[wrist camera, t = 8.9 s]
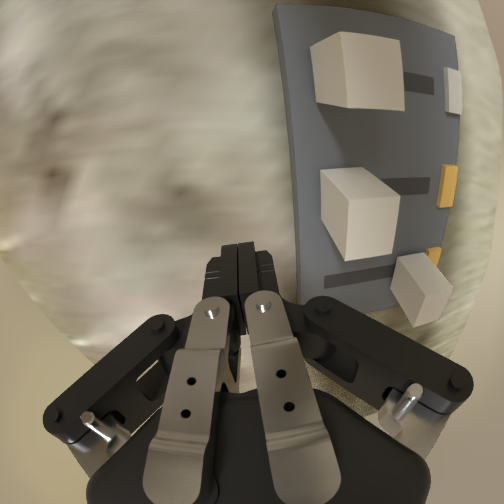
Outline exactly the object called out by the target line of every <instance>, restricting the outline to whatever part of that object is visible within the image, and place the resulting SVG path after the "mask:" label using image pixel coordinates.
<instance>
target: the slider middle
mask: <svg viewBox="0 0 504 504" xmlns="http://www.w3.org/2000/svg"><path fill="white" fill-rule="evenodd" d="M320 180H321V220H322V222H323V223H324V225H325V227H326V229H327V230H328V232H329V234H330V236H331V237H332V239H333V241H334V243H335V244H336V246H337V248H338V250H339V252H340V253H341V255H342V257H343V259H344V261H350V260H356V259H363V258H369V257H375V256H381V255H388V254H392V249H393V244H394V238H395V232H396V226H397V219H398V212H399V204H400V195H399V194H397V193H396V192H395V191H394V190H392V189H391V188H390V187H389V186H387V185H386V184H385V183H383V182H382V181H381V180H379V179H378V178H377V177H375V176H374V175H373V174H371V173H370V172H369V171H367V170H366V169H365V168H363V167H352V168H336V169H323V170H320Z"/></svg>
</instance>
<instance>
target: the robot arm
mask: <svg viewBox="0 0 504 504" xmlns="http://www.w3.org/2000/svg"><path fill="white" fill-rule="evenodd" d="M246 328H247V332H248V334H249V337H250V343H251V354H252V360H253V366H254V372H255V378H256V384H257V389H254V390H251V391H248V392H245V393H239V379H240V362H241V347H240V345H241V337H240V335H246ZM304 359H305V361H306V362H307V363H308V364H310V365H311V366H312V367H314V368H315V369H317V370H318V371H320V372H321V373H323V374H324V375H326V376H327V377H328V378H330V379H331V380H333V381H334V382H336V383H337V384H339V385H340V386H342V387H343V388H345V389H346V390H348V391H349V392H351V393H353V394H354V395H356V396H357V397H359V398H360V399H362V400H363V401H365V402H367V403H368V404H370V405H371V406H373V407H375V408H376V409H378V410H379V413H378V420H379V422H380V425H381V426H382V427H383V428H384V429H385V430H386V431H387V432H388V433H389V434H390V436H389V435H388V434H386V433H385V432H383V431H382V430H380V429H379V428H377V427H376V426H374V425H373V424H372V423H370V422H369V421H367V420H366V419H364V418H363V417H362V416H360V415H359V414H357V413H356V412H355V411H353V410H352V409H350V408H349V407H348V406H346V405H345V404H344V403H342V402H341V401H339V400H338V399H337V398H335V397H334V396H332V395H330V394H328V393H326V392H324V391H321V390H317V389H313V387H312V384H311V381H310V378H309V374H308V371H307V368H306V365H305V362H304ZM156 360H158V362H157V363H156V364H155V365H154V366H153V367H152V368H151V369H150V370H149V371H148V372H147V373H146V374H144V375H143V376H142V377H141V378H140V379H139V380H138V381H137V382H136V380H137V378H138V377H139V376H140V375H141V374H142V373H143V372H144V371H145V370H147V369H148V368H149V367H150V366H151V365H152V364H153V363H154V362H155V361H156ZM473 385H474V384H473V378H472V376H471V374H470V372H469V371H468V370H467V369H466V368H464V367H462V366H461V365H459V364H457V363H455V362H453V361H451V360H449V359H447V358H446V357H444V356H442V355H440V354H438V353H436V352H434V351H432V350H430V349H429V348H427V347H425V346H423V345H421V344H419V343H417V342H415V341H413V340H412V339H410V338H408V337H406V336H404V335H402V334H400V333H398V332H397V331H395V330H393V329H391V328H389V327H387V326H385V325H383V324H382V323H380V322H378V321H376V320H374V319H372V318H370V317H368V316H367V315H365V314H363V313H361V312H359V311H357V310H355V309H353V308H352V307H350V306H348V305H346V304H344V303H342V302H340V301H338V300H337V299H335V298H332V297H329V296H316V297H313V298H311V299H310V300H308V301H307V302H306V304H305V305H300V304H293V303H290V302H287V301H286V300H284V299H283V298H282V297H281V295H280V293H279V289H278V284H277V279H276V274H275V269H274V264H273V259H272V256H271V255H270V254H269V253H268V252H267V251H266V250H265V251H257V252H255V247H254V241H252V242H245V243H238V245H237V244H231V245H224V246H222V247H221V257H213V258H211V260H210V261H209V262H208V264H207V267H206V274H205V281H204V288H203V296H202V301H200V302H199V303H198V304H197V305H196V306H195V308H194V312H193V314H192V315H190V316H188V317H186V318H183V319H180V320H177V321H174V319H173V318H172V317H171V316H169V315H166V314H159V315H155V316H153V317H151V318H149V319H148V320H147V321H145V322H144V323H143V324H142V325H141V326H140V327H138V328H137V329H136V330H135V331H134V332H132V333H131V334H130V335H129V336H128V337H127V338H125V339H124V340H123V341H122V342H121V343H120V344H118V345H117V346H116V347H115V348H114V349H113V350H111V351H110V352H109V353H108V354H107V355H106V356H104V357H103V358H102V359H101V360H100V361H99V362H98V363H96V364H95V365H94V366H93V367H92V368H91V369H90V370H88V371H87V372H86V373H85V374H84V375H83V376H82V377H80V378H79V379H78V380H77V381H76V382H75V383H74V384H72V385H71V386H70V387H69V388H68V389H67V390H66V391H64V392H63V393H62V394H61V395H60V396H59V397H58V398H56V399H55V400H54V401H53V402H52V403H51V404H50V405H49V406H48V407H47V408H46V410H45V412H44V414H43V425H44V427H45V429H46V430H47V431H48V432H49V433H51V434H52V435H54V436H55V437H57V438H58V439H60V440H61V441H62V442H63V443H65V444H66V445H67V446H68V447H69V449H70V450H71V452H72V454H73V455H74V457H75V458H76V459H77V461H78V463H79V464H80V465H81V467H82V468H83V470H84V471H85V472H86V474H87V475H88V476H89V478H90V480H89V482H88V484H87V489H86V499H87V504H425V502H426V499H427V496H428V493H429V489H430V484H431V475H430V470H429V468H428V466H427V463H426V462H425V459H426V457H427V456H428V454H429V453H430V451H431V449H432V448H433V446H434V444H435V443H436V441H437V439H438V437H439V436H440V434H441V432H442V430H443V428H444V426H445V424H446V422H447V420H448V419H449V417H450V415H451V414H452V413H453V412H454V411H455V410H456V409H457V408H458V407H459V406H460V405H461V404H462V403H464V402H465V400H466V399H467V398H468V397H469V396H470V395H471V393H472V391H473ZM162 404H163V406H162V407H161V408H160V409H158V408H159V407H160V406H161V405H162ZM157 409H158V410H157ZM156 410H157V411H156ZM155 411H156V412H155ZM154 412H155V413H154ZM153 413H154V414H153ZM152 414H153V415H152ZM151 415H152V416H151ZM150 416H151V417H150ZM149 417H150V418H149ZM148 418H149V419H148ZM146 419H148V420H147V422H145V423H144V425H142V427H140V429H138V431H137V432H136V433H135V434H134V435H133V436H132V437H131V434H132V433H133V432H134V431H135V430H136V429H137V428H138V427H139V426H140V425H141V424H142V423H143V422H144V421H146Z"/></svg>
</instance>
